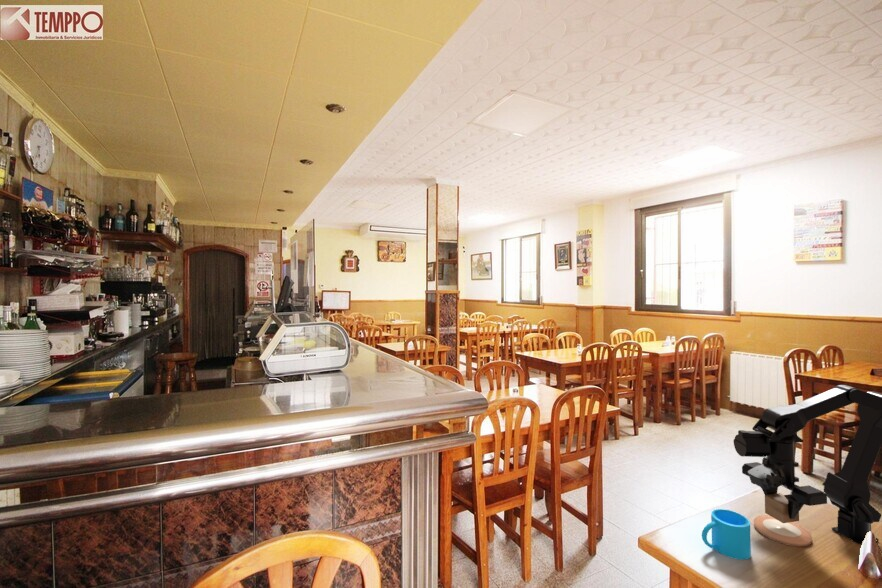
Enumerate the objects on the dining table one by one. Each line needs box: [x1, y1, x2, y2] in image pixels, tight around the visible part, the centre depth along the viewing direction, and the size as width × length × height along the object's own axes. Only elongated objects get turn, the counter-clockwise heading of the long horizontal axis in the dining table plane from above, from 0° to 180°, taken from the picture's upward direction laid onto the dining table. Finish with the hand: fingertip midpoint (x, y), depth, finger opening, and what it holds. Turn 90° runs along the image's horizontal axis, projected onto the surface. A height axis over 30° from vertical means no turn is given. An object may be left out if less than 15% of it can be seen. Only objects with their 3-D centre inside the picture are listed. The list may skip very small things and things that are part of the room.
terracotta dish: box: [753, 514, 813, 548], centre depth 108 cm, size 12×12×1 cm
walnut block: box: [764, 492, 800, 523], centre depth 108 cm, size 5×5×5 cm
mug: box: [701, 508, 752, 560], centre depth 102 cm, size 12×8×8 cm
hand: (781, 513), depth 108 cm, fingers closed on walnut block, 5 cm apart
